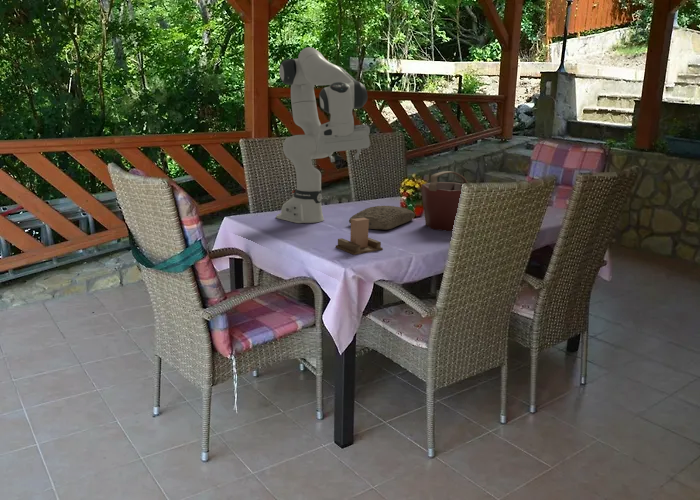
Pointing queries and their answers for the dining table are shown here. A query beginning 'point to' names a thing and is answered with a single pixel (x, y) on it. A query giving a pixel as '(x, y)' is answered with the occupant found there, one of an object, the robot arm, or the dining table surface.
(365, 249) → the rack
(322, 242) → the dining table surface
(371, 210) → the stone tablet
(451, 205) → the bucket
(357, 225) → the clay block
